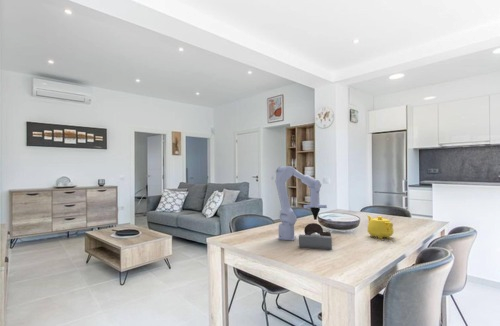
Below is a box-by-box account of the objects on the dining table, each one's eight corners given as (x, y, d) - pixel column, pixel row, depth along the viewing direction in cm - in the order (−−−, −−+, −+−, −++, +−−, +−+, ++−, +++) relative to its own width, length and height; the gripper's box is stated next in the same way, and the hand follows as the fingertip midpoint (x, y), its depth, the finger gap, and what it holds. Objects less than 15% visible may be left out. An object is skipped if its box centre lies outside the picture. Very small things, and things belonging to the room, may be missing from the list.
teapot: (375, 232, 180) (375, 213, 180) (401, 239, 161) (401, 218, 161) (359, 234, 175) (358, 214, 176) (383, 241, 157) (383, 220, 157)
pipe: (330, 232, 150) (329, 222, 164) (303, 233, 153) (303, 223, 167) (332, 249, 151) (330, 237, 165) (304, 249, 154) (305, 238, 169)
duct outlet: (298, 247, 148) (298, 234, 148) (300, 244, 153) (299, 232, 153) (331, 249, 143) (331, 235, 143) (331, 246, 148) (331, 233, 148)
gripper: (304, 199, 174) (305, 220, 174) (327, 198, 174) (328, 220, 174) (302, 198, 181) (303, 218, 181) (324, 197, 181) (325, 218, 181)
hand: (315, 219), depth 178 cm, fingers closed
